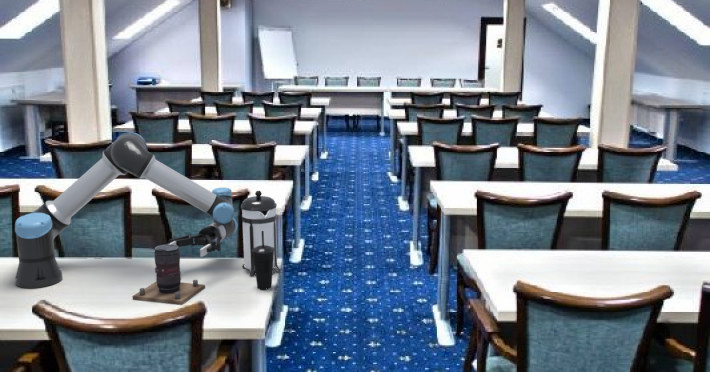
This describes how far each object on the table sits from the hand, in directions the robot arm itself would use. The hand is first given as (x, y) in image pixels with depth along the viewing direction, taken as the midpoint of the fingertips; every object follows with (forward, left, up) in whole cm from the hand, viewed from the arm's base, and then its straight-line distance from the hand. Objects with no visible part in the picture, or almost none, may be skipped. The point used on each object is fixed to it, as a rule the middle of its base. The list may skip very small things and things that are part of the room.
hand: (183, 251), depth 250 cm
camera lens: (0, -10, -11) cm, 15 cm away
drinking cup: (+28, +3, -12) cm, 31 cm away
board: (0, -10, -12) cm, 16 cm away
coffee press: (+19, +21, -12) cm, 30 cm away
